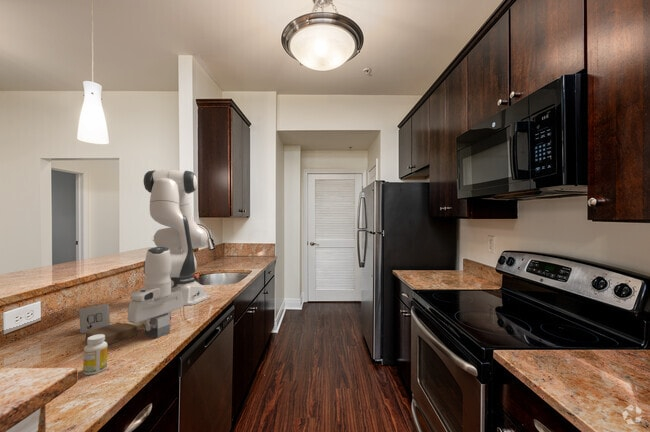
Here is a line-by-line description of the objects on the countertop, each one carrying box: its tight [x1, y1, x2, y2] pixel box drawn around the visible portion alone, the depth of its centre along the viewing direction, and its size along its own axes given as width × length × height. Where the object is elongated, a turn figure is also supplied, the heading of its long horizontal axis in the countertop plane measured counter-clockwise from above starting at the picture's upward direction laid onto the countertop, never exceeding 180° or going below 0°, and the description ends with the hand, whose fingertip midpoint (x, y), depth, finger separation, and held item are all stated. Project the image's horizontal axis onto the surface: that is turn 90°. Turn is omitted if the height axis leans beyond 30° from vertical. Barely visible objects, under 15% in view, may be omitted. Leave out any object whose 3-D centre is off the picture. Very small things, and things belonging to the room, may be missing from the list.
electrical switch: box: [78, 303, 111, 335], centre depth 113 cm, size 9×5×9 cm, turn 141°
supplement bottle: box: [82, 334, 109, 376], centre depth 82 cm, size 5×5×10 cm
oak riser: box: [123, 320, 145, 332], centre depth 117 cm, size 8×8×2 cm
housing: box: [144, 314, 171, 339], centre depth 109 cm, size 5×7×7 cm
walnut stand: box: [84, 322, 138, 346], centre depth 105 cm, size 11×11×3 cm
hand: (157, 327), depth 109 cm, fingers closed on housing, 5 cm apart
